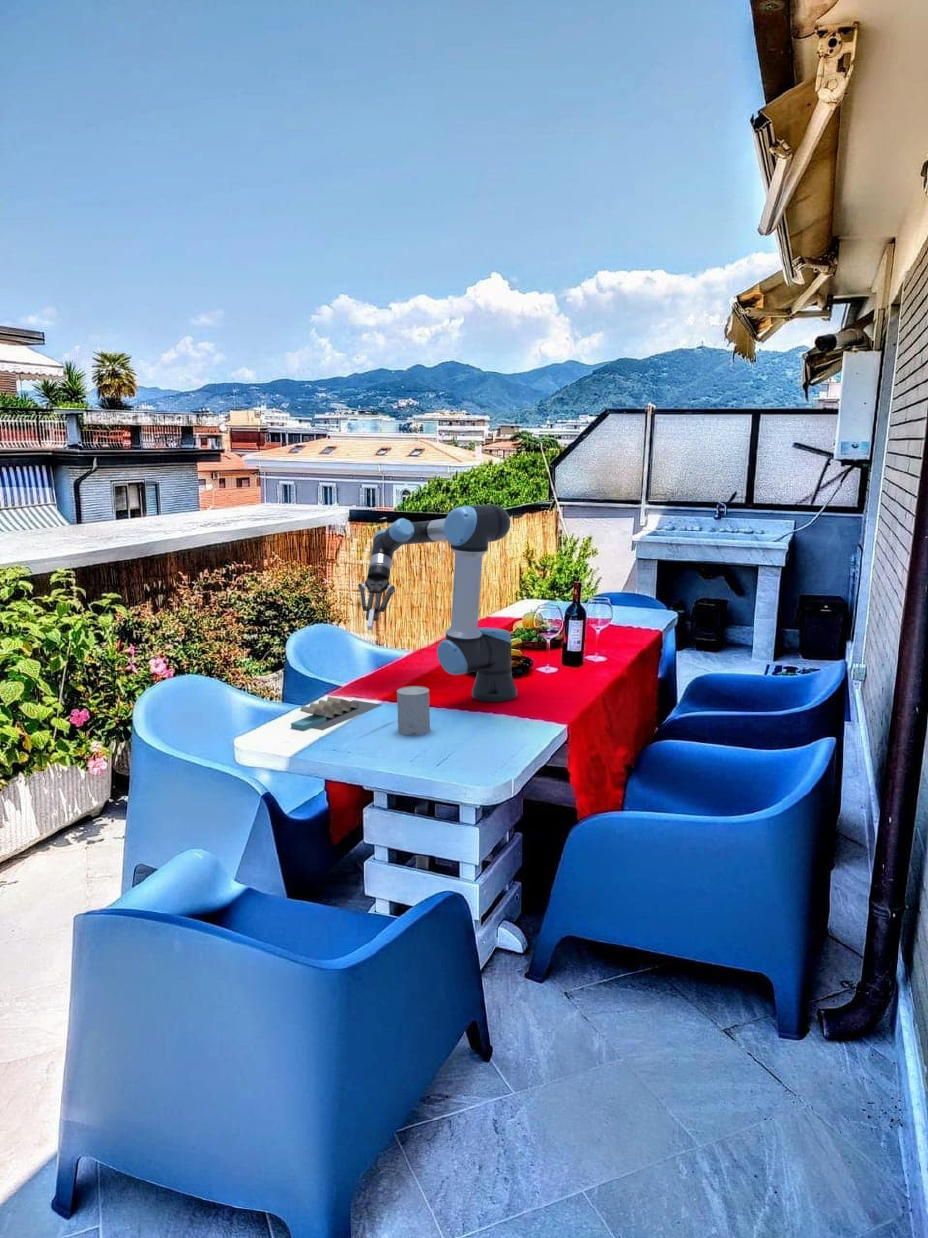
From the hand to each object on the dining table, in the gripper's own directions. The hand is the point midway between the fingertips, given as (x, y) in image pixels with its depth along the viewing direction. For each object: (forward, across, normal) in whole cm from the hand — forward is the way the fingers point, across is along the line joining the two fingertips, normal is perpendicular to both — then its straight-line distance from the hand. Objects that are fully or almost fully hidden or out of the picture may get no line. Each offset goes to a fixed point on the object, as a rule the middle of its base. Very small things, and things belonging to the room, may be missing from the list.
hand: (369, 628), depth 284 cm
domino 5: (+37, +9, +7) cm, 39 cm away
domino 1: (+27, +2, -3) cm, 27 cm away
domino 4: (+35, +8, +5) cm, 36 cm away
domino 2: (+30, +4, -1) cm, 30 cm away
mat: (+33, +5, +1) cm, 34 cm away
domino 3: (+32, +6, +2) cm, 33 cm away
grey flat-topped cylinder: (+41, -21, +11) cm, 47 cm away
